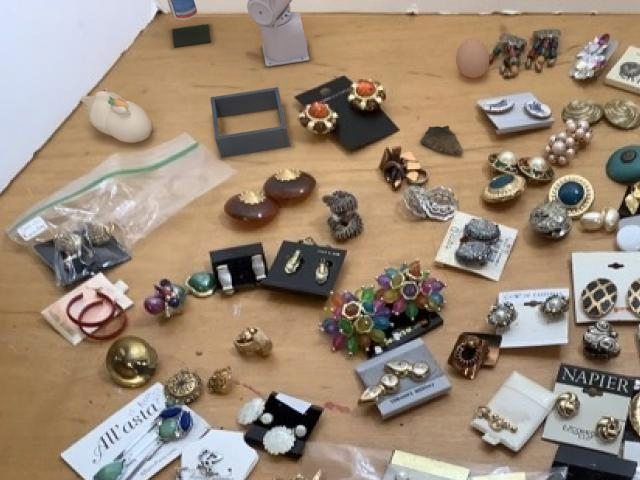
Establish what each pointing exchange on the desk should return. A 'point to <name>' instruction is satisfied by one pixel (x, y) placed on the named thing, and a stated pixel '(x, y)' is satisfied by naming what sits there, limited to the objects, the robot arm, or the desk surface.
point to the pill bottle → (183, 9)
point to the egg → (472, 58)
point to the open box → (250, 139)
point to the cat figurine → (117, 116)
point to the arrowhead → (441, 140)
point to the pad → (191, 35)
